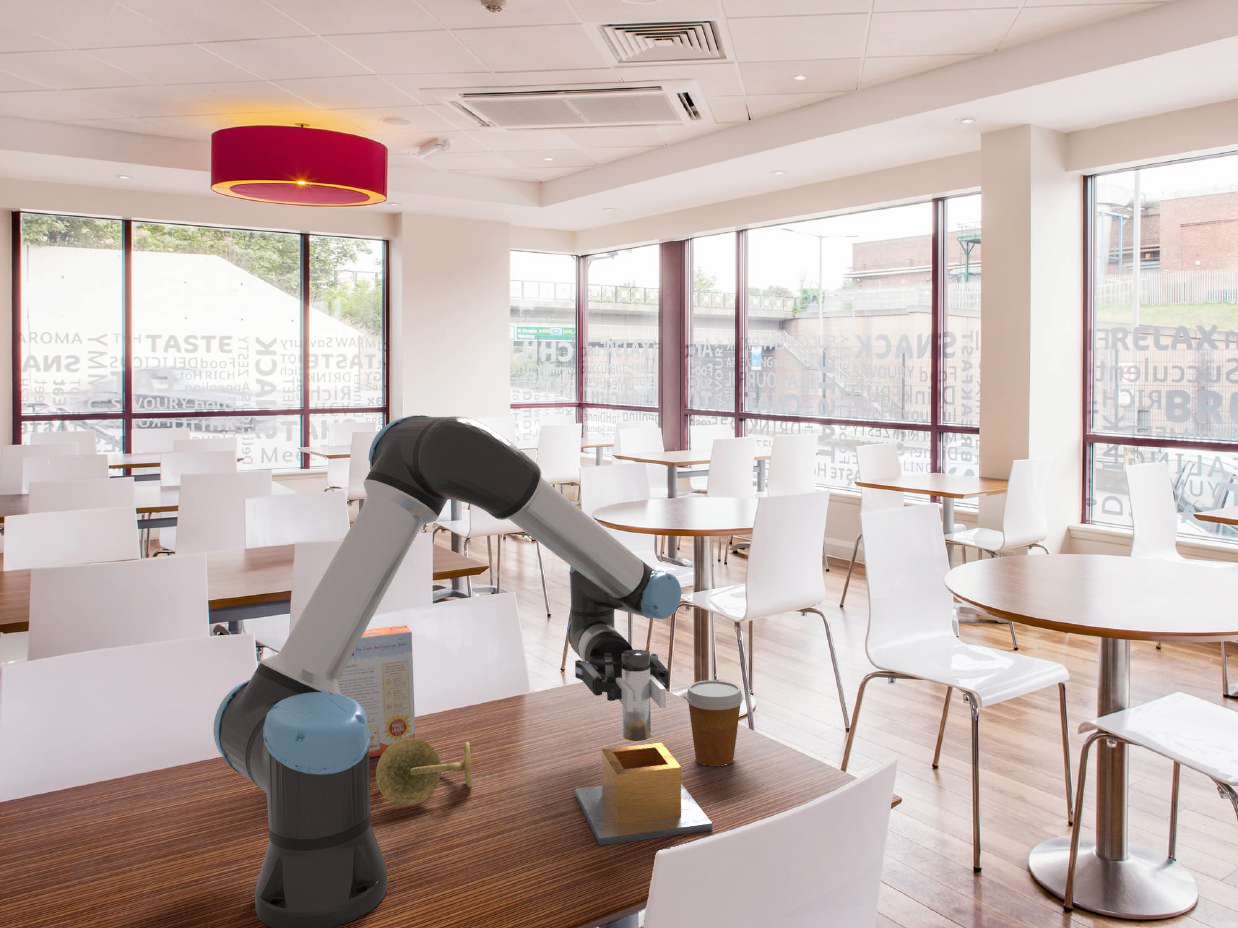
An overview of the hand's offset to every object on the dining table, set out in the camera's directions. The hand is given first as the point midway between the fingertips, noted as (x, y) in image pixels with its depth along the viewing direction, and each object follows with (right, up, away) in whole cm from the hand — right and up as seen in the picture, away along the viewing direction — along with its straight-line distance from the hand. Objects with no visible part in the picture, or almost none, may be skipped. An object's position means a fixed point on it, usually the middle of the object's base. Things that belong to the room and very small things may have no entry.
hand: (646, 699), depth 122 cm
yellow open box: (-1, -18, +7) cm, 19 cm away
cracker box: (-46, -17, +30) cm, 58 cm away
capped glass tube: (-1, -7, +6) cm, 9 cm away
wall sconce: (-35, -17, +21) cm, 44 cm away
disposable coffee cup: (+12, -17, +26) cm, 33 cm away
